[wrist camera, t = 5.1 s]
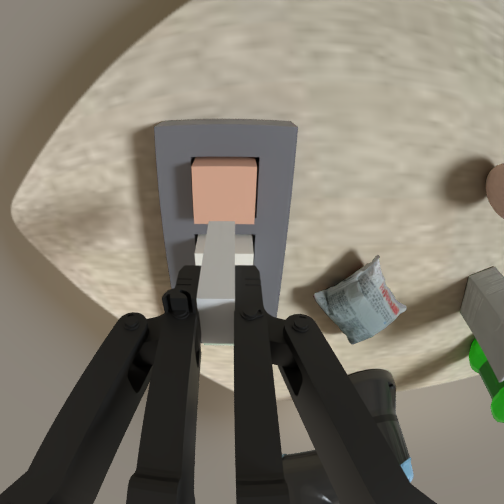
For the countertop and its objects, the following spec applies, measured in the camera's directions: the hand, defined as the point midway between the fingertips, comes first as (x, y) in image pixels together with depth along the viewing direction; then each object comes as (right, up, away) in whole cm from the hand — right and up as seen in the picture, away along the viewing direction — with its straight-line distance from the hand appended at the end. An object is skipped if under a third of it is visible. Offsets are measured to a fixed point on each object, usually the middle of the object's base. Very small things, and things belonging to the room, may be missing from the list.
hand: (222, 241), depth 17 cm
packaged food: (+15, -5, +18) cm, 24 cm away
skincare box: (+38, -6, +20) cm, 43 cm away
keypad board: (-1, 0, +13) cm, 13 cm away
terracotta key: (-1, +6, +8) cm, 10 cm away
